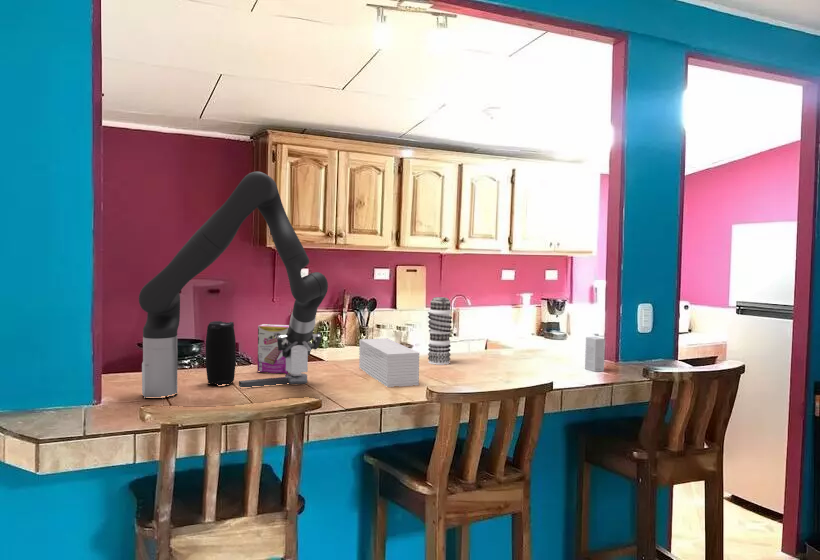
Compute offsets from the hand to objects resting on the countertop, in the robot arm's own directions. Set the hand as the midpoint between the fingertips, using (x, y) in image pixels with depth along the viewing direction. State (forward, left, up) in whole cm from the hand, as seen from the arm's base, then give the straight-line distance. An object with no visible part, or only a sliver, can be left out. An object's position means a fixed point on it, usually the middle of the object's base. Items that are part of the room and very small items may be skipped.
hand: (295, 355), depth 205 cm
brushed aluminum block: (0, -2, -5) cm, 5 cm away
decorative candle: (+61, +9, -9) cm, 62 cm away
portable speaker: (-22, +6, -9) cm, 25 cm away
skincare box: (+106, -27, -9) cm, 109 cm away
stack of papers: (+31, -4, -9) cm, 33 cm away
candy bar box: (-1, +17, -9) cm, 20 cm away
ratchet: (-7, -2, -9) cm, 12 cm away
